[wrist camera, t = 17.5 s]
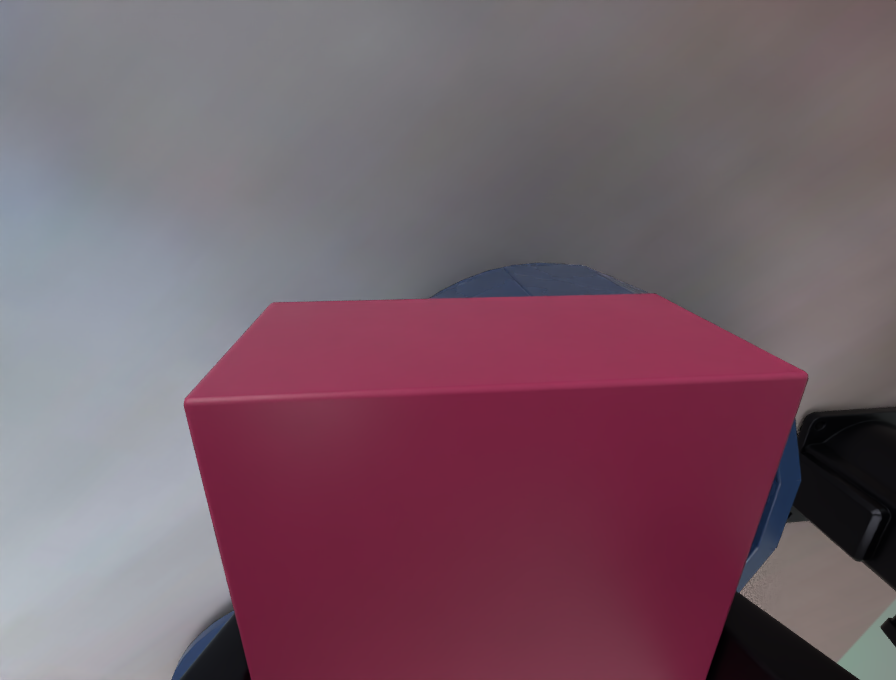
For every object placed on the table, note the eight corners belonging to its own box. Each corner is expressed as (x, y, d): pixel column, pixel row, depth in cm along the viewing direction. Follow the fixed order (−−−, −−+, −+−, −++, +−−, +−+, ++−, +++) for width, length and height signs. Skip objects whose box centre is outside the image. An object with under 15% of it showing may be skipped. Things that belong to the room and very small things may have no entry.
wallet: (269, 301, 7) (163, 416, 4) (656, 292, 8) (840, 386, 5) (328, 696, 11) (298, 922, 8) (587, 669, 11) (659, 868, 8)
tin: (724, 258, 18) (868, 301, 13) (657, 546, 24) (735, 662, 19) (334, 267, 17) (304, 321, 11) (363, 573, 22) (353, 708, 17)
